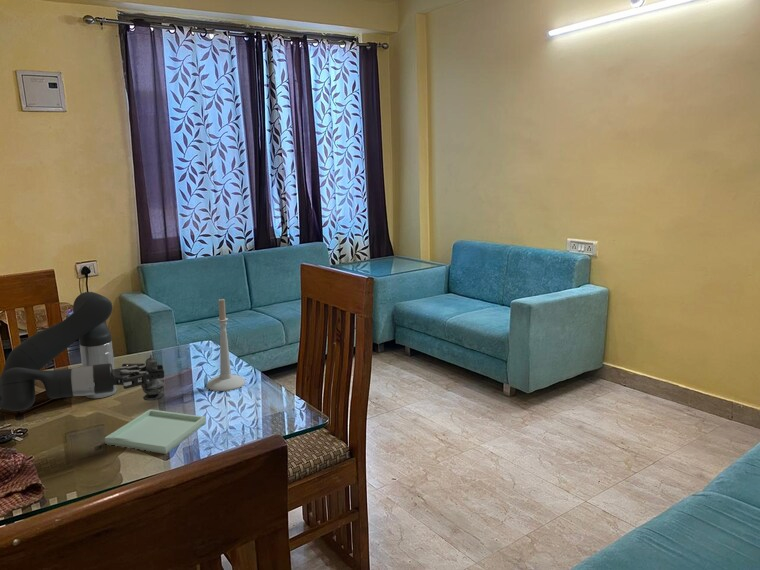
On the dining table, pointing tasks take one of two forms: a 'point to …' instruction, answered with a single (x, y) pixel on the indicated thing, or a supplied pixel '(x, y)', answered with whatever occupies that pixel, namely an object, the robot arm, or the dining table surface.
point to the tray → (156, 431)
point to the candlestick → (224, 360)
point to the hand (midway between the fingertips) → (163, 371)
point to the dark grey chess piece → (152, 383)
